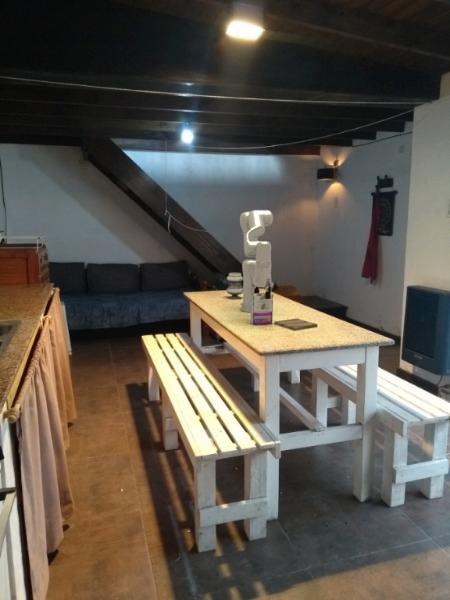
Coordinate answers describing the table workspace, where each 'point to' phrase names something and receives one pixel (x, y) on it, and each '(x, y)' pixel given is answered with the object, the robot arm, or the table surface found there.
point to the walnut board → (295, 324)
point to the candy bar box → (261, 309)
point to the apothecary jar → (235, 285)
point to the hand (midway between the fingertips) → (262, 297)
